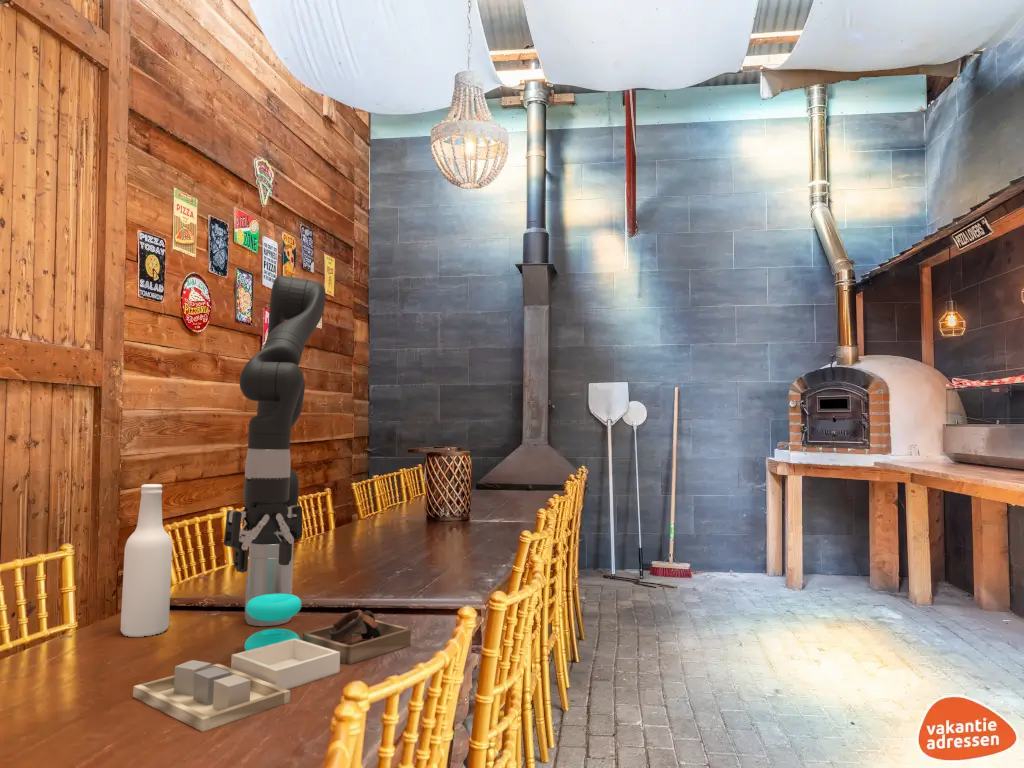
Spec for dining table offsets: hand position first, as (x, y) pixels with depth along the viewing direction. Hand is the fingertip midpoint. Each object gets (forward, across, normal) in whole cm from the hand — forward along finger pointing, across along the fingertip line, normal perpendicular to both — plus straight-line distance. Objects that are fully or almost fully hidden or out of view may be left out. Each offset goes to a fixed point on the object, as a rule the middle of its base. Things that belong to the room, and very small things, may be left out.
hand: (263, 568), depth 124 cm
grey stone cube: (+17, +13, +1) cm, 21 cm away
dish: (+18, -1, +6) cm, 19 cm away
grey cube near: (+17, +13, +12) cm, 25 cm away
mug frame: (+18, -20, +3) cm, 27 cm away
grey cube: (+17, +13, +6) cm, 22 cm away
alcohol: (+18, -1, -39) cm, 43 cm away
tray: (+18, +13, +6) cm, 23 cm away
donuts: (+18, -9, -8) cm, 21 cm away
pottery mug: (+18, -20, +3) cm, 27 cm away
